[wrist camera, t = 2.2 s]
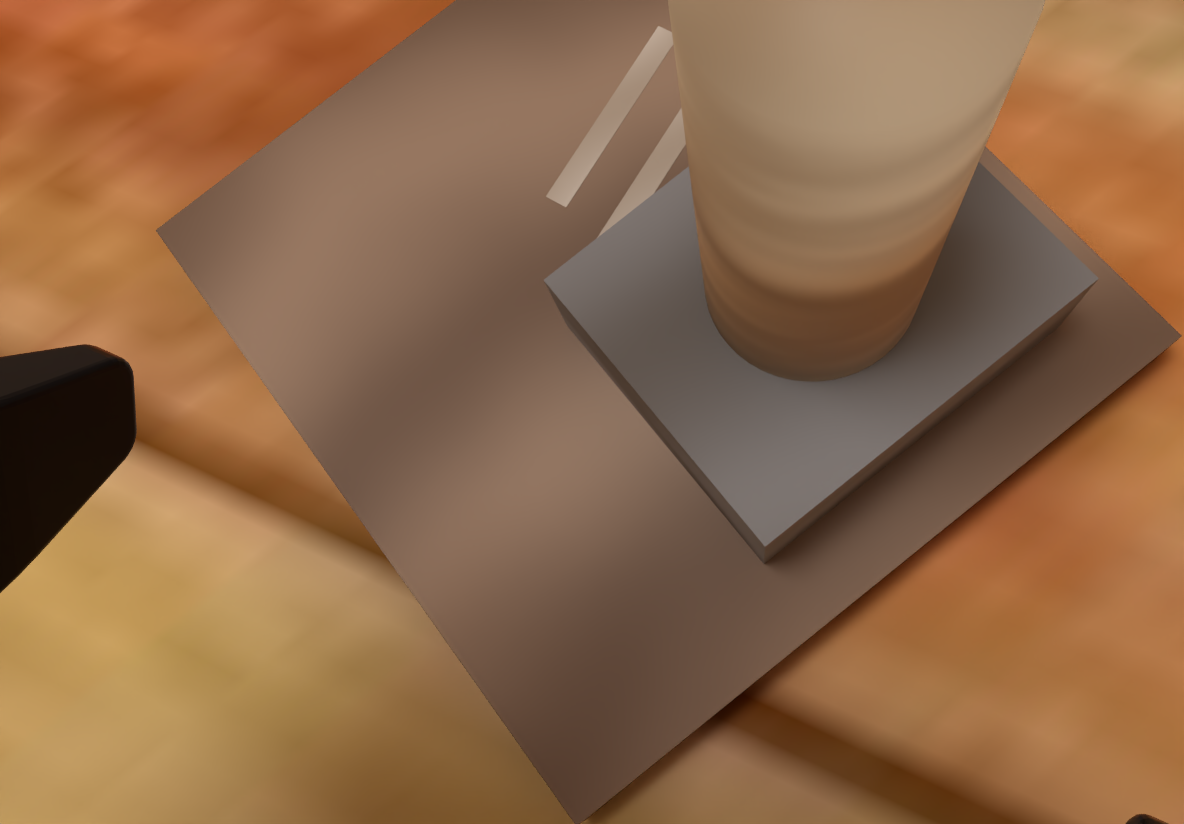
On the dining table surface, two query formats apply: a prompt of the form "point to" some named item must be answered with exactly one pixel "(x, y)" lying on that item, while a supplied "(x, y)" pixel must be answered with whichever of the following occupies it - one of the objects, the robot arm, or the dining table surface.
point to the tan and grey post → (822, 249)
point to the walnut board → (564, 381)
